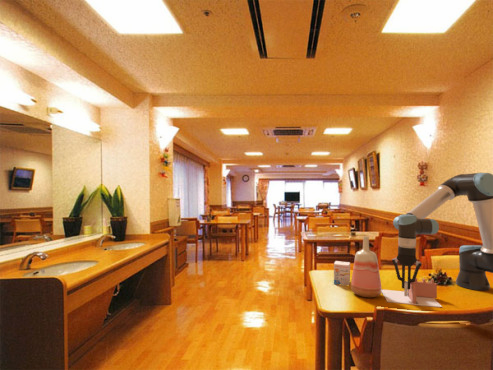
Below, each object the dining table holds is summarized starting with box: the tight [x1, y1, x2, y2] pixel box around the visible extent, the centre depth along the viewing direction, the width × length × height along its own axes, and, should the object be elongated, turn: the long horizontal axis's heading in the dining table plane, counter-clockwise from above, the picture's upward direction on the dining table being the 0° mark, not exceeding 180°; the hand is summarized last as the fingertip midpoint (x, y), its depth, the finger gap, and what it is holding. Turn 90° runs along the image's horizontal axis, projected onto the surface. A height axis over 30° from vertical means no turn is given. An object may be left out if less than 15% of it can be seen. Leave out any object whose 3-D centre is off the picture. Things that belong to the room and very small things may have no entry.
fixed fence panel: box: [408, 277, 438, 299], centre depth 145 cm, size 13×1×9 cm, turn 74°
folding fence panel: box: [408, 282, 416, 303], centre depth 140 cm, size 11×1×9 cm, turn 161°
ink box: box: [333, 260, 351, 286], centre depth 167 cm, size 9×8×12 cm
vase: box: [350, 235, 382, 299], centre depth 148 cm, size 14×14×30 cm
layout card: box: [381, 289, 443, 308], centre depth 143 cm, size 23×18×1 cm
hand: (405, 295), depth 139 cm, fingers closed
